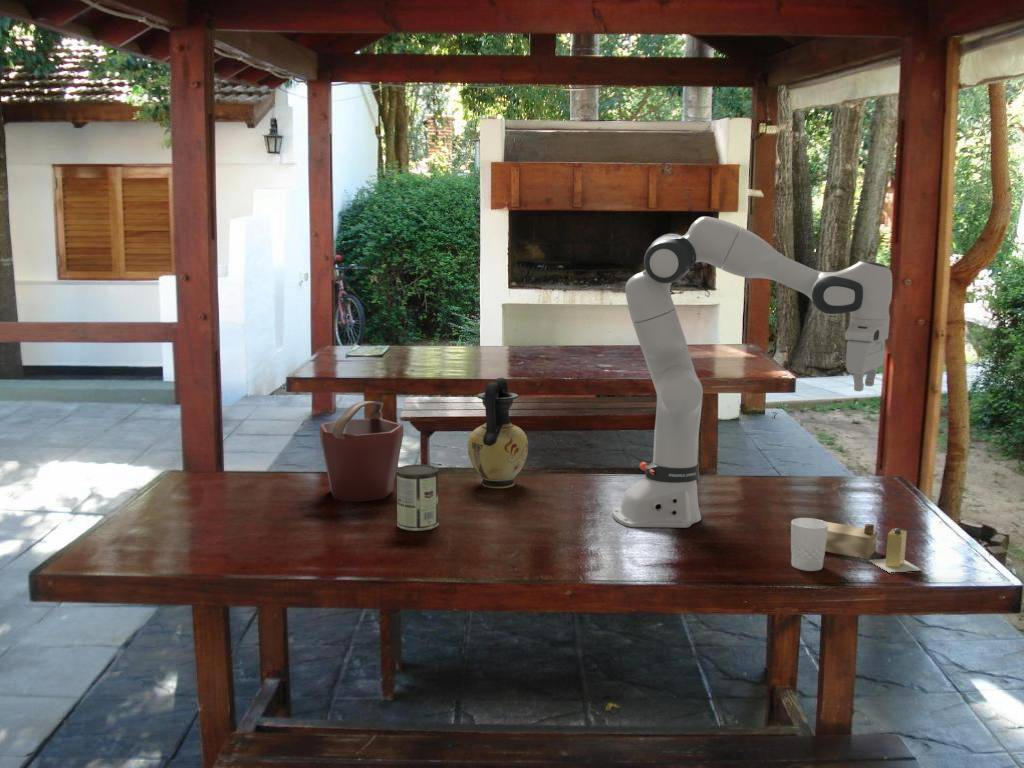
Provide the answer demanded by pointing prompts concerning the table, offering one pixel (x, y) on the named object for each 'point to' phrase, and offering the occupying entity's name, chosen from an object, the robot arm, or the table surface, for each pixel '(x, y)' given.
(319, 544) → the table surface
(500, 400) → the amphora
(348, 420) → the bucket
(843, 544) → the body
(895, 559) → the brass knob block
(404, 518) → the coffee can
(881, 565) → the mat
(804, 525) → the white cup
